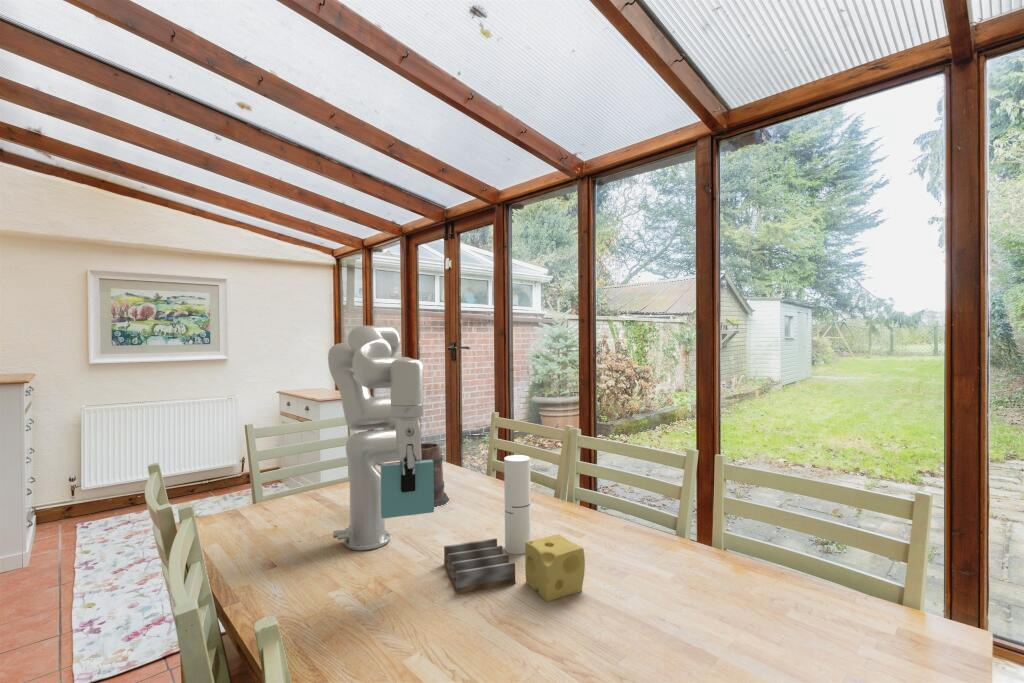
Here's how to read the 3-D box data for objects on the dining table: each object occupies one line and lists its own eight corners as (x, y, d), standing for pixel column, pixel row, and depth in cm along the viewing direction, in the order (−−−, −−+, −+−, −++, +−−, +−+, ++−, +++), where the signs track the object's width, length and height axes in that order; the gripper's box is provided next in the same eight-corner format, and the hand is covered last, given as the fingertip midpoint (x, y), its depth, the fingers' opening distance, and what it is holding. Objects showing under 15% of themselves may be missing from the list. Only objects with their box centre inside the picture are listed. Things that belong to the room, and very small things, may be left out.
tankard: (422, 491, 185) (421, 438, 185) (459, 497, 177) (458, 443, 177) (378, 510, 164) (378, 451, 164) (418, 519, 156) (417, 457, 156)
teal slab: (381, 518, 111) (381, 466, 111) (380, 514, 113) (380, 463, 113) (433, 512, 115) (433, 461, 115) (432, 508, 117) (431, 459, 117)
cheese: (546, 603, 106) (546, 557, 106) (523, 581, 116) (522, 539, 116) (585, 591, 111) (585, 548, 111) (559, 571, 120) (559, 531, 120)
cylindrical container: (528, 555, 129) (527, 461, 129) (502, 553, 131) (501, 460, 131) (532, 544, 136) (532, 455, 136) (507, 542, 138) (507, 454, 138)
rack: (457, 594, 110) (457, 573, 110) (444, 564, 125) (443, 545, 125) (515, 583, 115) (515, 563, 115) (496, 555, 129) (495, 538, 129)
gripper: (428, 416, 108) (428, 498, 108) (418, 406, 123) (418, 478, 123) (393, 418, 105) (394, 502, 105) (387, 407, 120) (388, 481, 121)
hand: (407, 488), depth 114 cm, fingers closed on teal slab, 2 cm apart
